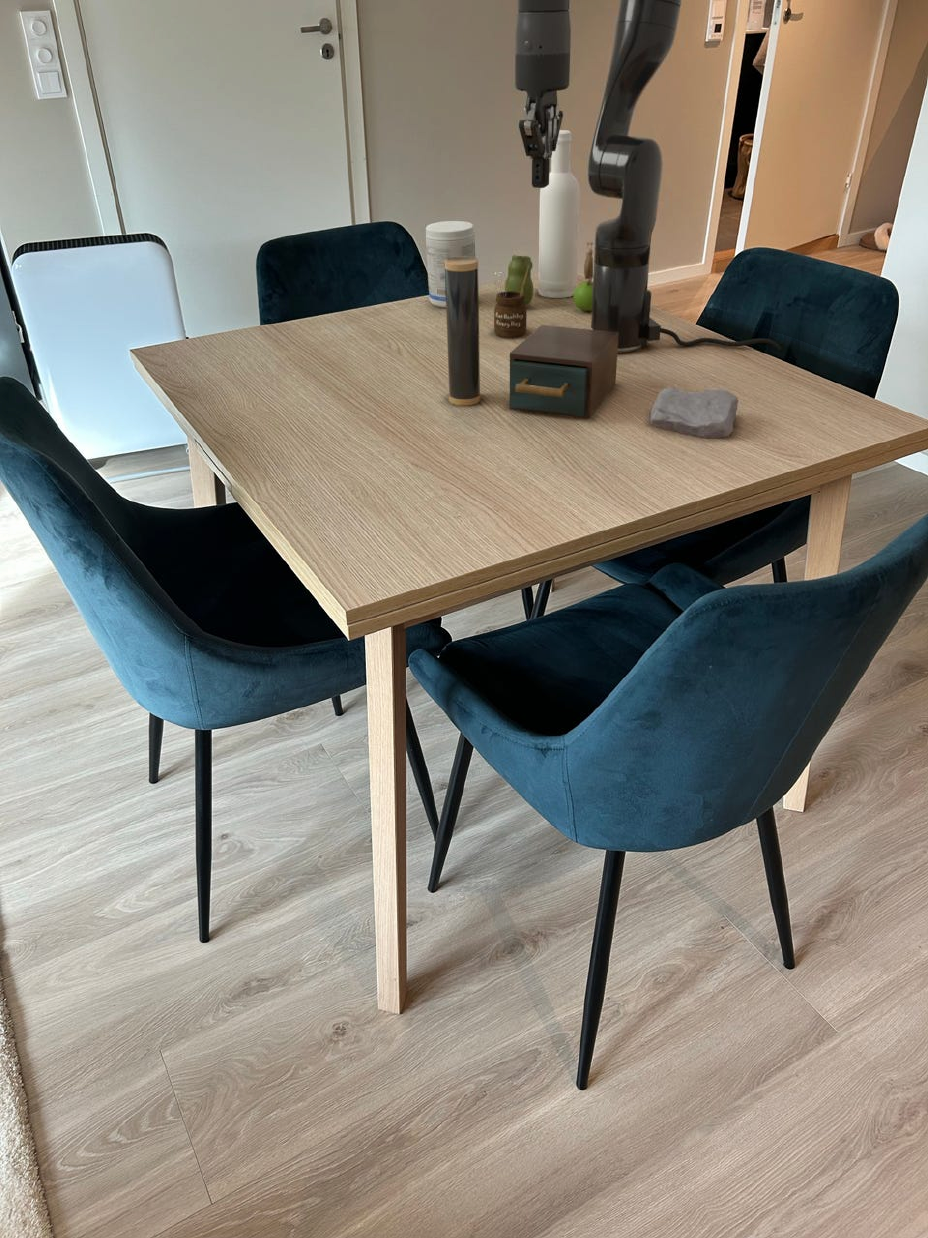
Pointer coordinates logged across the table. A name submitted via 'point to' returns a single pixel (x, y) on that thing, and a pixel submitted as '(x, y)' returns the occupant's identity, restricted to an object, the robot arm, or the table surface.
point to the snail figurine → (585, 284)
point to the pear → (520, 277)
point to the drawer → (548, 387)
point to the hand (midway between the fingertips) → (540, 186)
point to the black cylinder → (463, 329)
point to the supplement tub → (446, 253)
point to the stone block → (695, 412)
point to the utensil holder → (510, 312)
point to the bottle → (559, 225)
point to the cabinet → (575, 358)
